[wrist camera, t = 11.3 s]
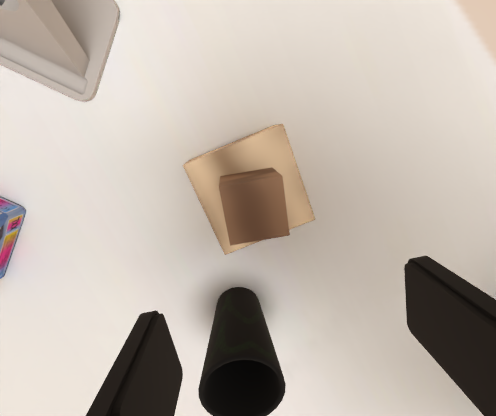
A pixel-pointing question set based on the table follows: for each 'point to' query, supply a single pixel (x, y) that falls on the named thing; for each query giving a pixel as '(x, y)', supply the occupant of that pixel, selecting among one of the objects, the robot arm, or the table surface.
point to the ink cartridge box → (9, 230)
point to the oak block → (242, 160)
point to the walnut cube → (254, 205)
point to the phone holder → (59, 42)
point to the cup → (240, 360)
